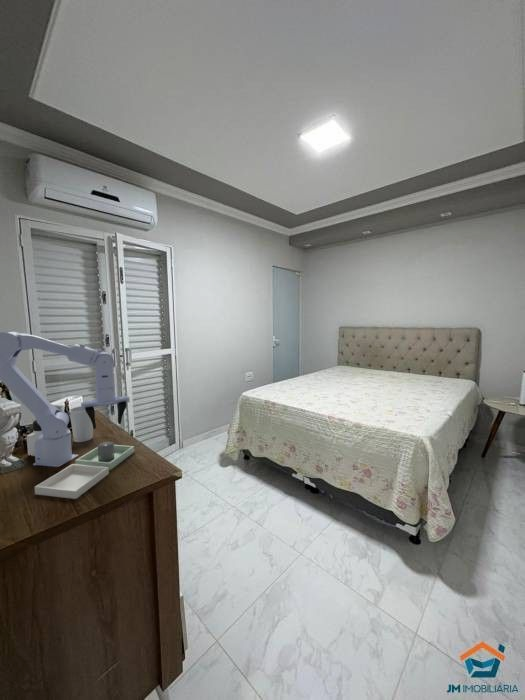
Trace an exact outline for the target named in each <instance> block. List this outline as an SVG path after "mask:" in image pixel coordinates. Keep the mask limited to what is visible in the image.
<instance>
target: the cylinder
mask: <svg viewBox="0 0 525 700" xmlns="http://www.w3.org/2000/svg"><path fill="white" fill-rule="evenodd" d="M114 445H115V443H114V442H113V441H104V442H101V443H98V445H97V447H98V461H100V462H109V461H112V460H113V459H114Z"/></svg>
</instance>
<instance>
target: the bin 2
mask: <svg viewBox="0 0 525 700" xmlns="http://www.w3.org/2000/svg"><path fill="white" fill-rule="evenodd" d="M134 453H135V446H134V445H124V444H123V445H122V444H121V445H120V444H114V459H113V460H112V461H109V462H100V461H98V446H97V447H95V448H94V449H92V450H90V451H88V452H87V453H85V454H83V455H82V456H79V458H77V459H75V460H74V461H75V462H74V464H80V465H91V466H101V467H109V471H111V470H112V469H114V468H115V467H117V466H118V465H119V464H120V463H122V462H124V460H126V459H127V458H128V457H130V456H131V455H132V454H134Z"/></svg>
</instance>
